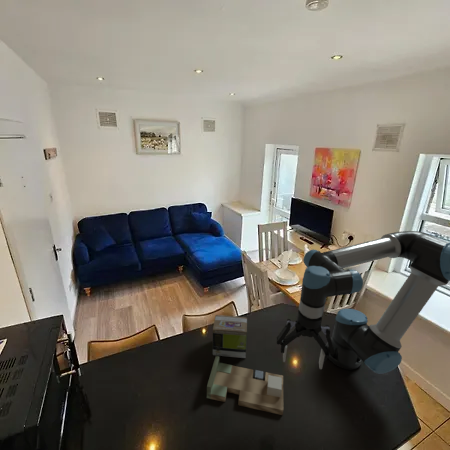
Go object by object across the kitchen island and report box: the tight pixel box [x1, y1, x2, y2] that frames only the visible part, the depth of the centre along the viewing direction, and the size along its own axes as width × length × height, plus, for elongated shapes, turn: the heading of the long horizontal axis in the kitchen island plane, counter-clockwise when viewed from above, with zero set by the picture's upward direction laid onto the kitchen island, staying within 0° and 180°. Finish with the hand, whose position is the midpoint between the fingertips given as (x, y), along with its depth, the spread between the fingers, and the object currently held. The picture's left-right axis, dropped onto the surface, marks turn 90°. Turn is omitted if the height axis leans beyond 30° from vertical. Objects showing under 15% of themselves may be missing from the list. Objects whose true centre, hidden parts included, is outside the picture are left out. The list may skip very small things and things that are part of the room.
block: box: [254, 369, 264, 381], centre depth 103 cm, size 3×3×3 cm
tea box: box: [212, 314, 248, 359], centre depth 115 cm, size 15×10×15 cm
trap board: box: [206, 355, 284, 416], centre depth 98 cm, size 28×14×6 cm, turn 78°
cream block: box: [267, 375, 282, 398], centre depth 96 cm, size 5×5×4 cm
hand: (301, 362), depth 90 cm, fingers open, 12 cm apart
